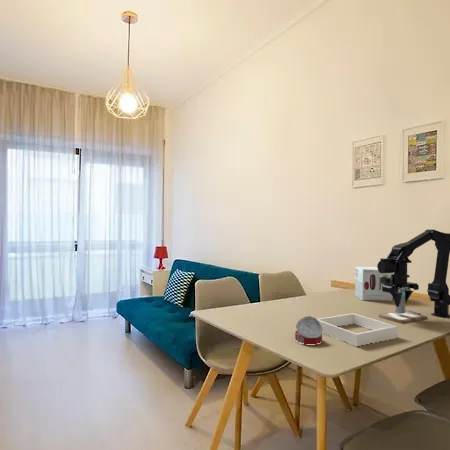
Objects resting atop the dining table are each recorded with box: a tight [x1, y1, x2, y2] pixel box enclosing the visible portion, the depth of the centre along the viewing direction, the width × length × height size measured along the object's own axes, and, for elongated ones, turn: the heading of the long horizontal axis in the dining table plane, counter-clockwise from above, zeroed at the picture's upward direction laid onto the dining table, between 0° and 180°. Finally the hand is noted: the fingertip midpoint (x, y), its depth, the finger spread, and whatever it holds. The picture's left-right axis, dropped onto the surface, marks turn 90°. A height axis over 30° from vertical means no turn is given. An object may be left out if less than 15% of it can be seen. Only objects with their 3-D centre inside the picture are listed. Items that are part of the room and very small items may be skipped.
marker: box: [395, 290, 406, 313], centre depth 164 cm, size 4×4×10 cm
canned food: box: [294, 315, 323, 344], centre depth 133 cm, size 11×10×10 cm
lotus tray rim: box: [316, 312, 399, 347], centre depth 141 cm, size 22×22×4 cm
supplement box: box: [354, 265, 394, 302], centre depth 206 cm, size 17×13×18 cm
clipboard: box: [378, 309, 428, 324], centre depth 165 cm, size 18×12×2 cm, turn 117°
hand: (400, 305), depth 164 cm, fingers closed on marker, 4 cm apart
